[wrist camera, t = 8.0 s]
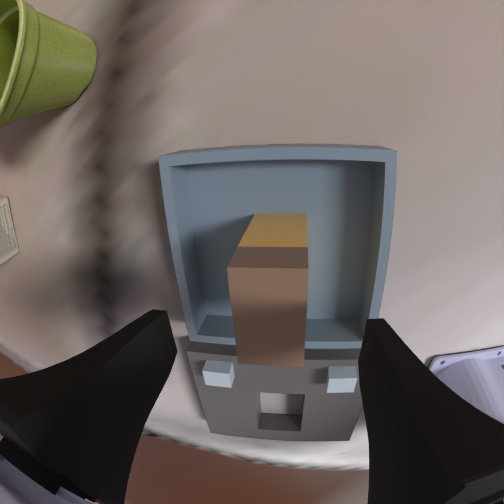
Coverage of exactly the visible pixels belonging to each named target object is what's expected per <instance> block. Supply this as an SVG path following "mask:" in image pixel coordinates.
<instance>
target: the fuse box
mask: <svg viewBox="0 0 504 504" xmlns="http://www.w3.org/2000/svg"><path fill="white" fill-rule="evenodd" d="M360 351H361V348H350V349H309V348H305V354H304V367H289V366H267V365H251V364H238V358H237V350H236V345H228V344H216V343H206V342H196V341H191V343H190V345H189V347H188V349H187V355H188V359H189V363H190V366H191V370H192V374H193V377H194V381H195V384H196V388H197V391H198V395H199V398H200V401H201V405H202V408H203V411H204V414H205V417H206V421H207V424H208V427H209V430H210V433H216V434H223V435H230V436H238V437H247V438H257V439H269V440H286V441H349V440H350V437H351V435H352V432H353V430H354V427H355V425H356V422H357V419H358V417H359V414H360V411H361V408H362V405H363V402H362V397H361V391H360V384H359V369H358V359H359V355H360ZM260 392H265V393H283V394H304V400H303V409H302V415H282V414H266V413H261V404H260Z"/></svg>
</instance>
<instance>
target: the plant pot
mask: <svg viewBox="0 0 504 504" xmlns="http://www.w3.org/2000/svg"><path fill="white" fill-rule="evenodd" d="M96 57H97V53H96V47H95V44H94V43H93V41H92V40H91V39H90V37H89V36H88V35H87V34H85V33H83V32H81V31H79V30H77V29H75V28H73V27H71V26H69V25H66V24H64V23H62V22H60V21H58V20H56V19H53V18H51V17H49V16H47V15H44V14H42V13H40V12H37V11H36V10H35V9H34V8H33V7H32V6H31V5H30V4H28V3H26V2H25V1H24V0H0V128H1V127H2V126H4V125H5V124H8V123H10V122H13V121H16V120H19V119H22V118H25V117H28V116H31V115H34V114H38V113H41V112H45V111H49V110H53V109H57V108H61V107H65V106H68V105H70V104H72V103H73V102H75V101H76V100H77V99H78V97H79V95H80V94H81V93H82V91H83V90H84V89H85V87H86V86H87V85H88V84H89V83H90V81H91V79H92V76H93V73H94V70H95V66H96Z"/></svg>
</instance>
